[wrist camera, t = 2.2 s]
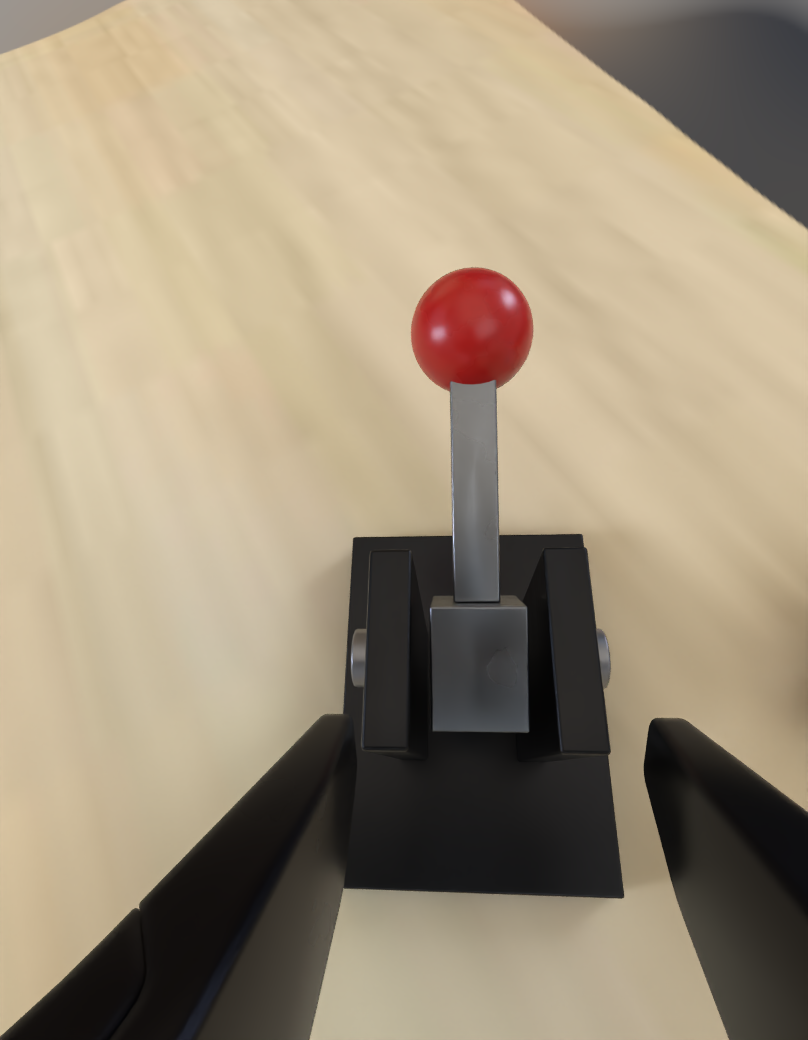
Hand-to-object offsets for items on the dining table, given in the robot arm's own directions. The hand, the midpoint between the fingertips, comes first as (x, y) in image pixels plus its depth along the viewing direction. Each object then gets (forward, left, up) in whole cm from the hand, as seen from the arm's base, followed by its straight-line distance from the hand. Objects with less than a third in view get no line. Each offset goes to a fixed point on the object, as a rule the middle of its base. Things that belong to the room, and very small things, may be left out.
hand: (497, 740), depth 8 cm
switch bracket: (+2, +1, -14) cm, 14 cm away
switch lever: (+6, +3, -5) cm, 8 cm away
